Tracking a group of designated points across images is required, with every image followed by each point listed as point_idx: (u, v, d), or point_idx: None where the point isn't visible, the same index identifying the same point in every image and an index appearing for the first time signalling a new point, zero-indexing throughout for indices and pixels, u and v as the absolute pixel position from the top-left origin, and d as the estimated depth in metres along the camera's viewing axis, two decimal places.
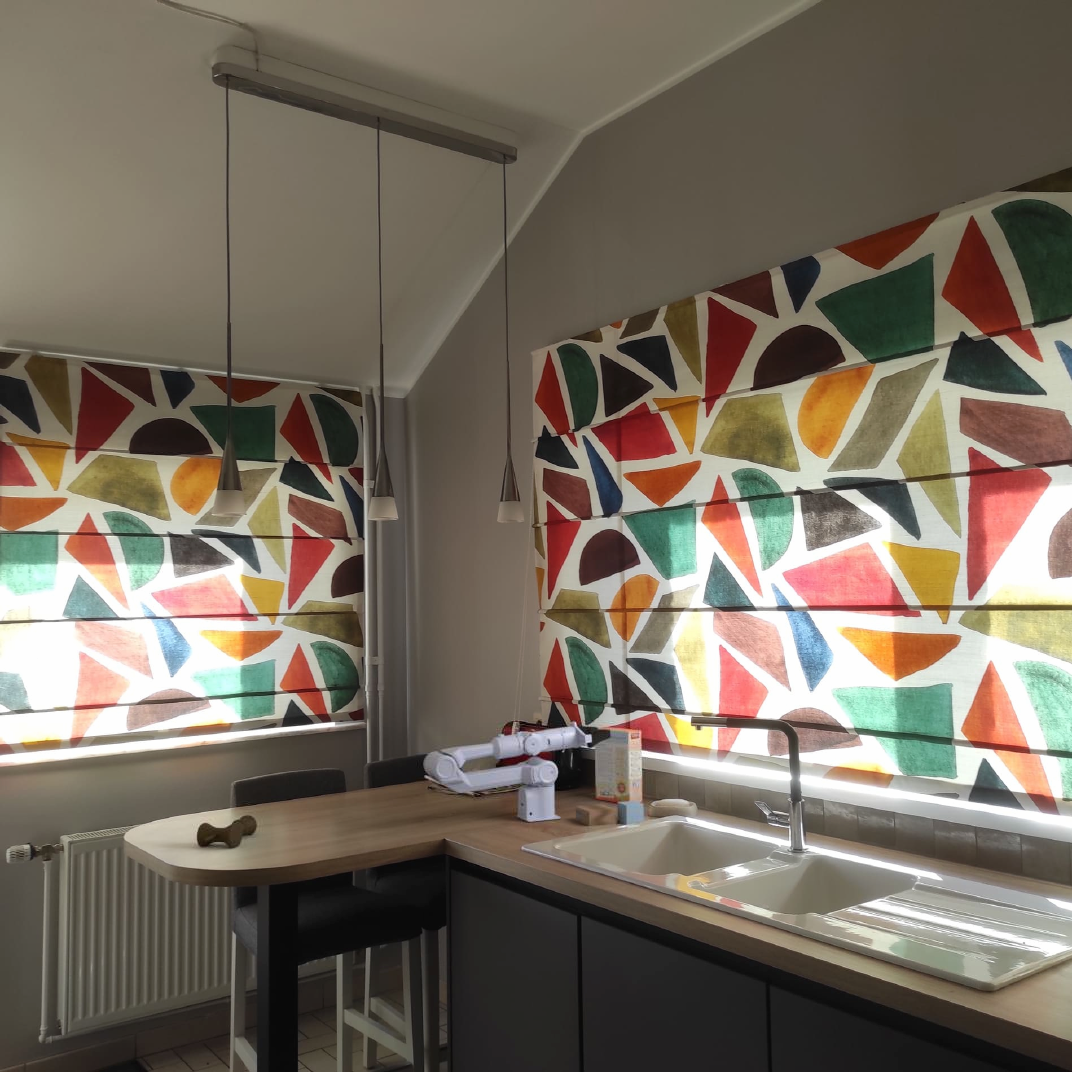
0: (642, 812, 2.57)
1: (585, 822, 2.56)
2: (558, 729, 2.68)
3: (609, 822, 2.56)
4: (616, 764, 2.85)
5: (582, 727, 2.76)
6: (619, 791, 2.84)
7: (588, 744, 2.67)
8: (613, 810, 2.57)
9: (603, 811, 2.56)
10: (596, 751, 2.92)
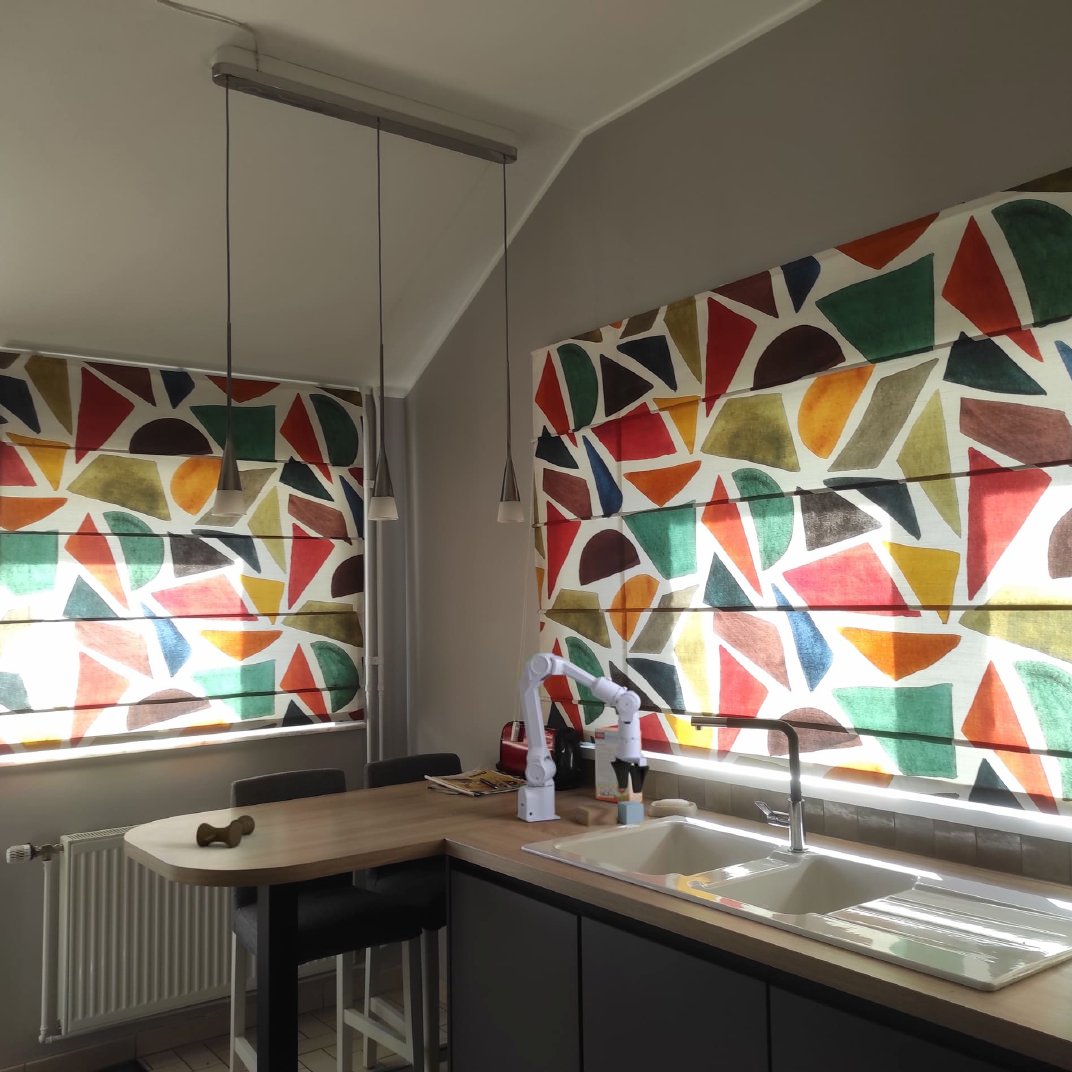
0: (642, 812, 2.57)
1: (585, 822, 2.56)
2: (638, 737, 2.59)
3: (609, 822, 2.56)
4: None
5: (628, 770, 2.64)
6: (619, 791, 2.84)
7: (631, 765, 2.55)
8: (613, 810, 2.57)
9: (602, 811, 2.56)
10: (596, 751, 2.92)
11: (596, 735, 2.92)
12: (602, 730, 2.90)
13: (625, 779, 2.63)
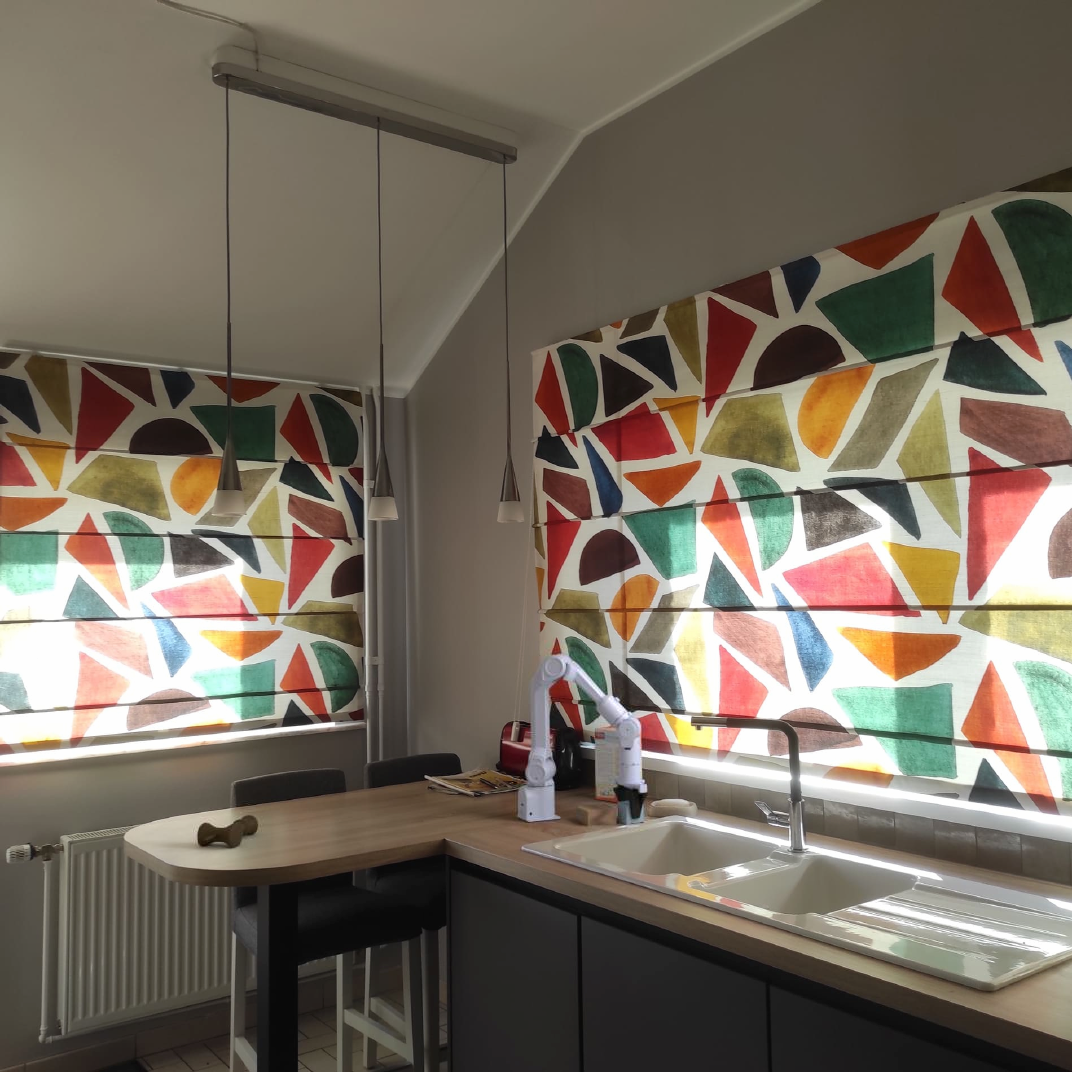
0: (642, 812, 2.57)
1: (584, 822, 2.56)
2: (639, 763, 2.58)
3: (608, 822, 2.56)
4: (615, 764, 2.85)
5: None
6: None
7: (630, 791, 2.55)
8: (612, 810, 2.57)
9: (602, 811, 2.56)
10: (596, 751, 2.92)
11: (596, 735, 2.92)
12: (602, 730, 2.90)
13: None
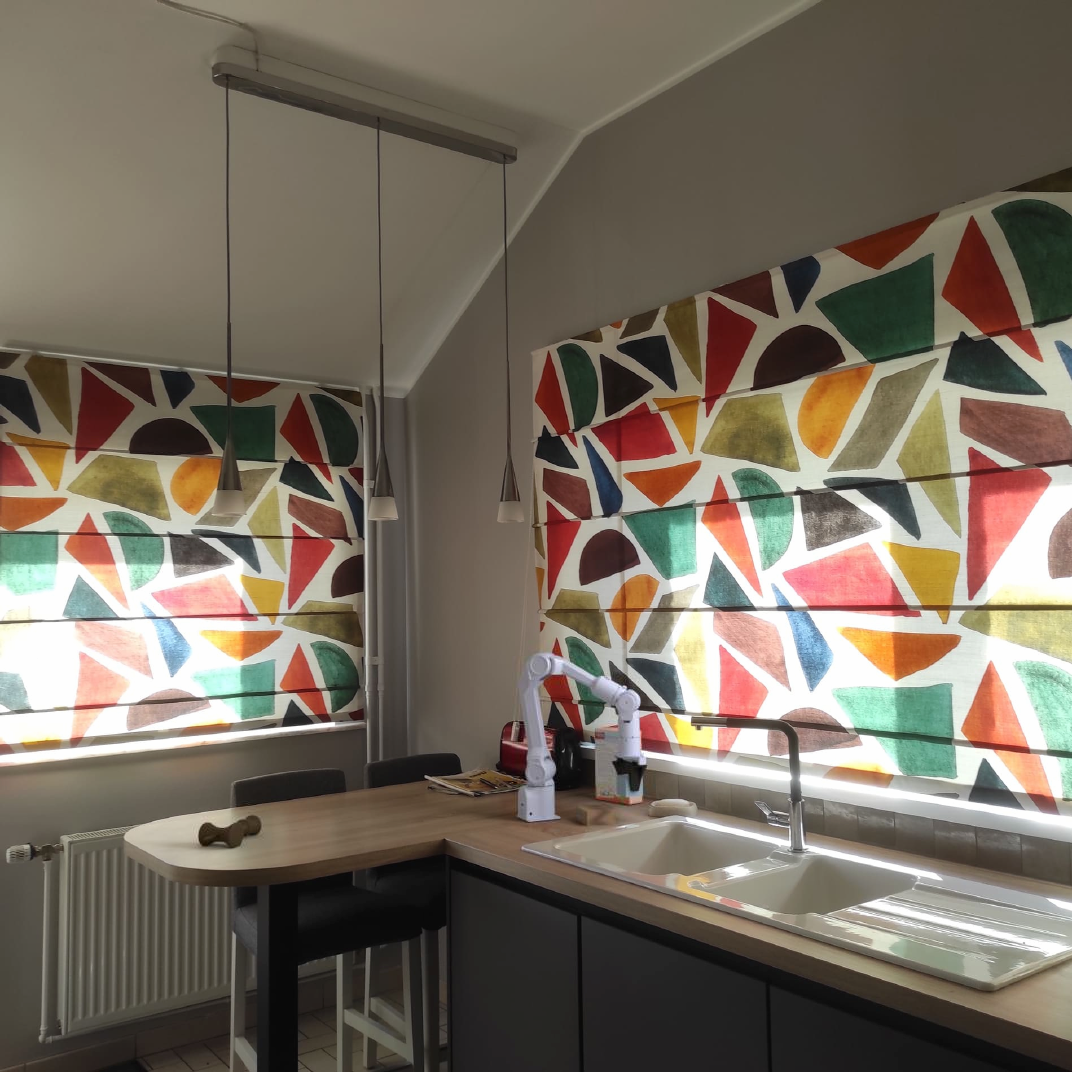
0: (641, 784, 2.58)
1: (584, 822, 2.56)
2: (638, 736, 2.59)
3: (608, 822, 2.56)
4: None
5: None
6: None
7: (629, 764, 2.56)
8: (612, 810, 2.56)
9: (602, 811, 2.56)
10: (596, 751, 2.92)
11: (596, 735, 2.92)
12: (602, 730, 2.90)
13: None
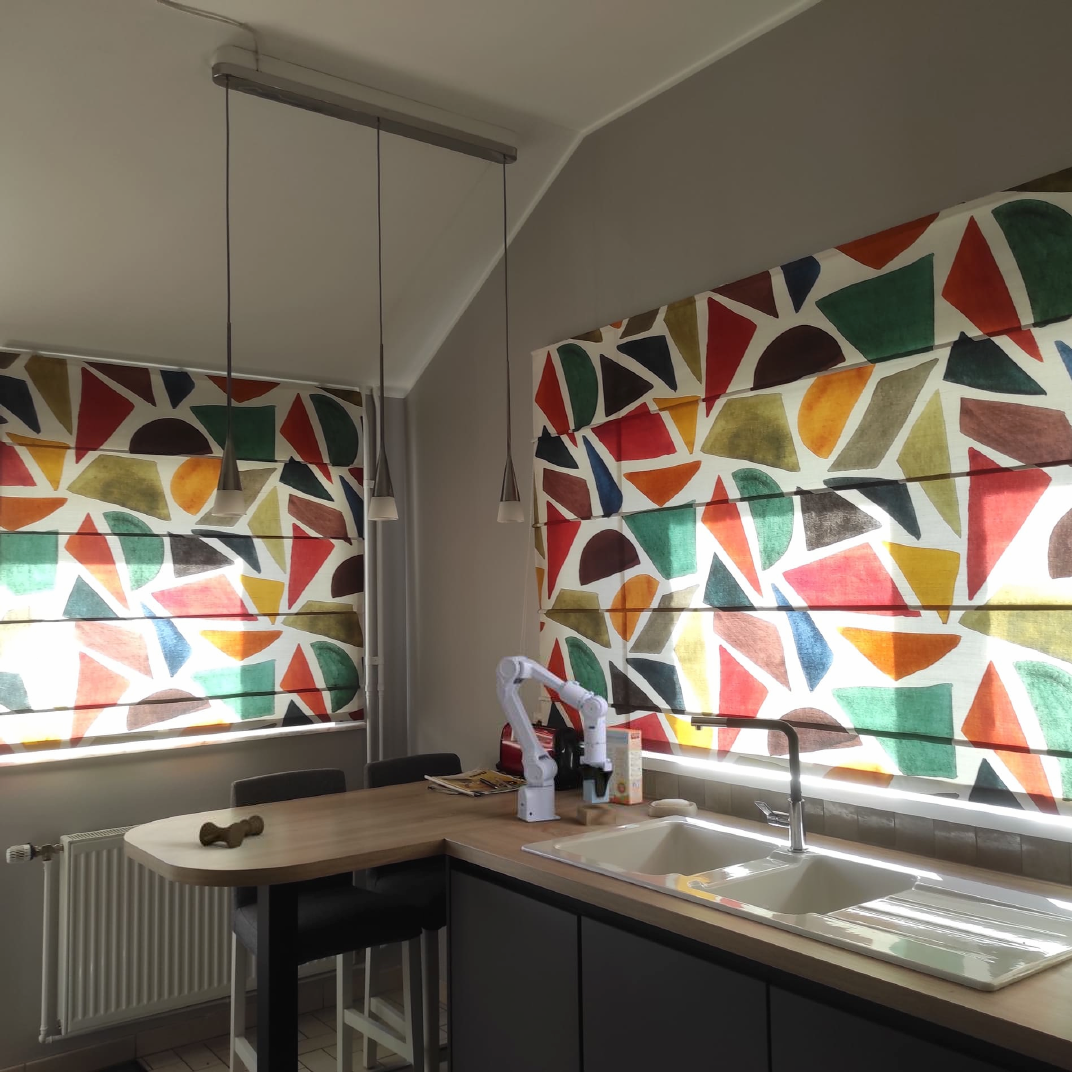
0: (607, 790, 2.58)
1: (584, 822, 2.56)
2: (603, 742, 2.59)
3: (608, 822, 2.56)
4: (616, 764, 2.85)
5: None
6: (619, 791, 2.84)
7: (595, 770, 2.56)
8: (612, 810, 2.56)
9: (601, 811, 2.56)
10: None
11: None
12: None
13: None
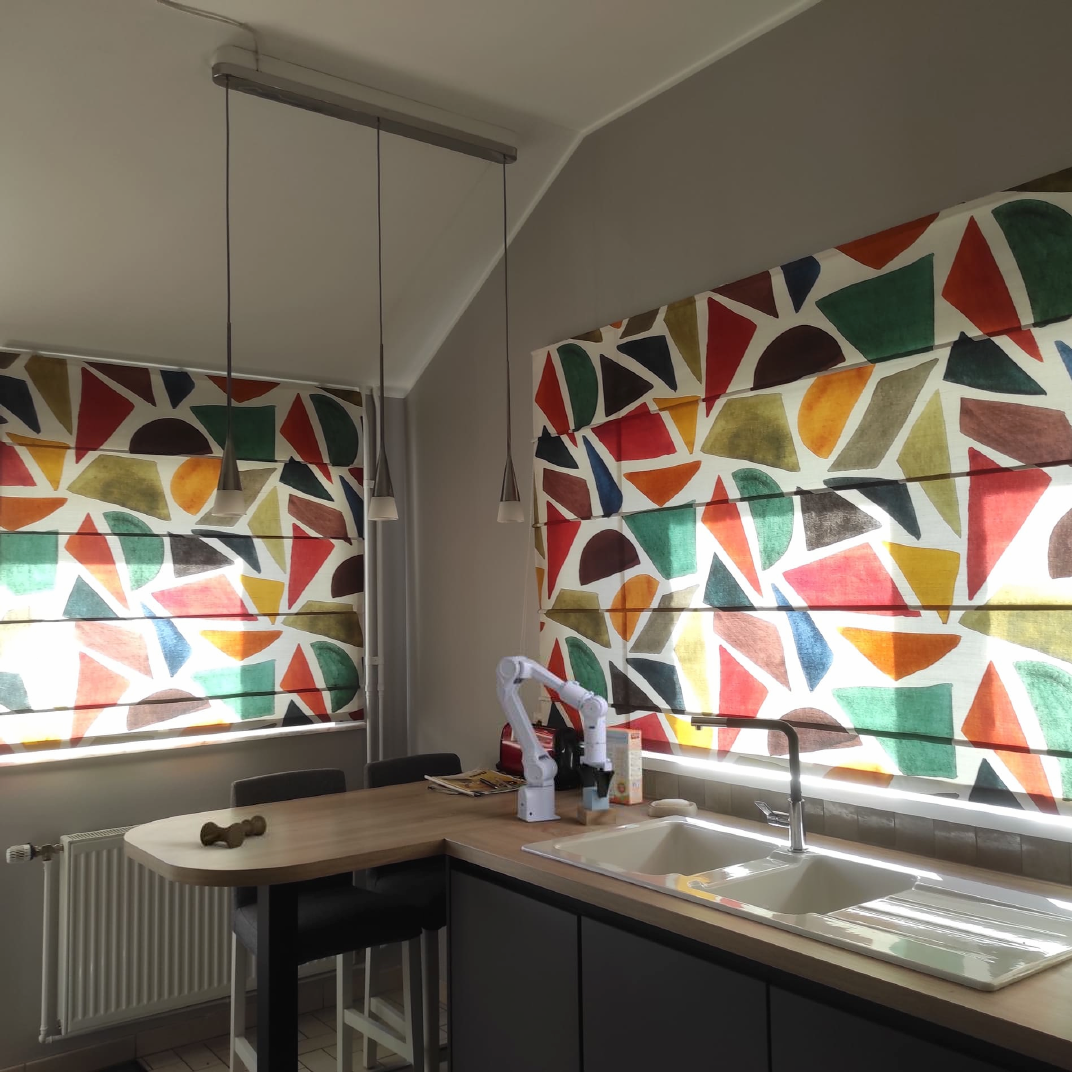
0: (607, 797, 2.58)
1: (583, 822, 2.56)
2: (603, 742, 2.59)
3: (608, 823, 2.56)
4: (616, 764, 2.85)
5: None
6: (619, 791, 2.84)
7: (596, 770, 2.55)
8: (612, 811, 2.56)
9: (601, 811, 2.56)
10: None
11: None
12: None
13: (591, 784, 2.63)
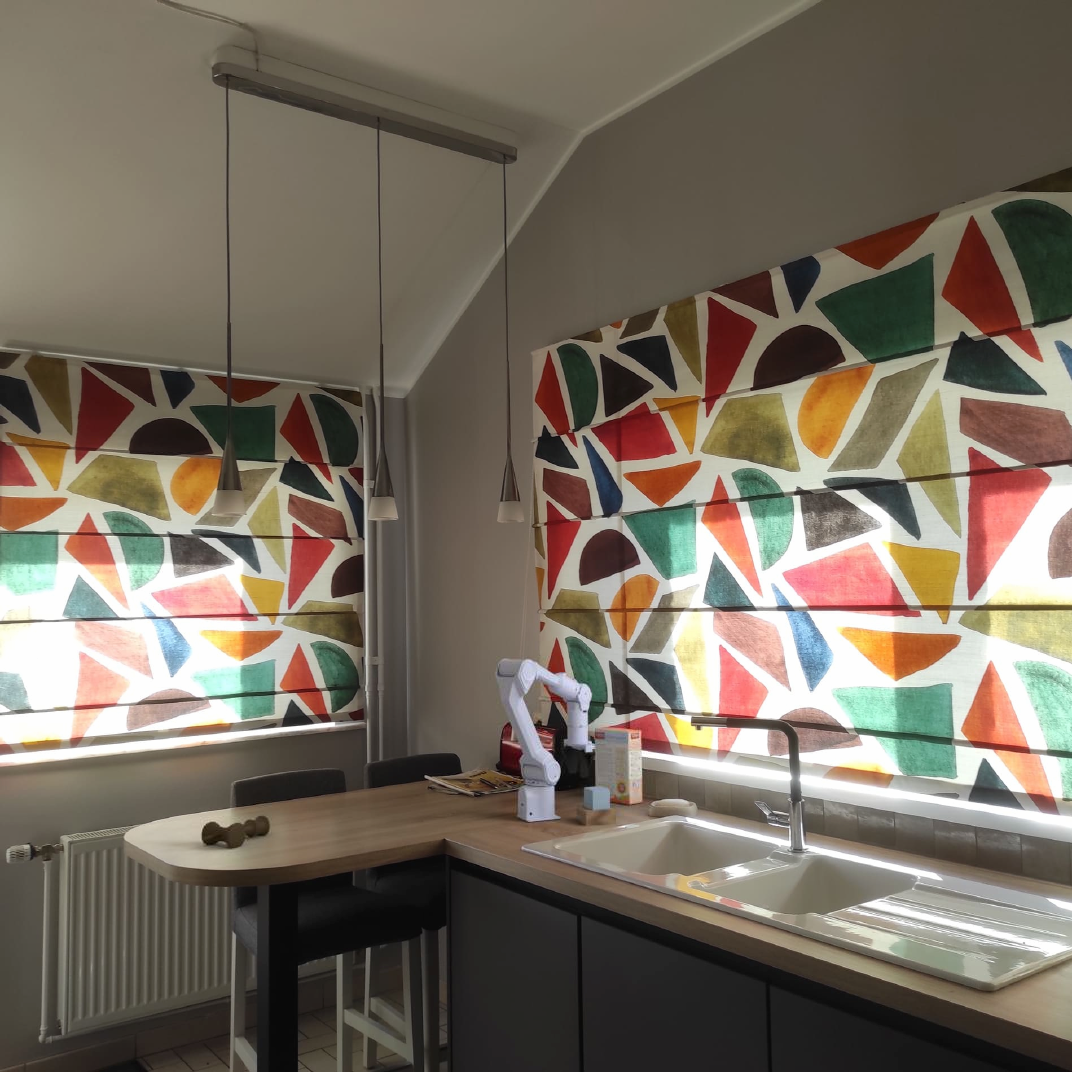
0: (608, 797, 2.58)
1: (583, 822, 2.56)
2: None
3: (607, 822, 2.56)
4: (615, 764, 2.85)
5: None
6: (619, 791, 2.84)
7: (578, 752, 2.72)
8: (611, 810, 2.56)
9: (601, 811, 2.56)
10: (596, 751, 2.92)
11: (596, 735, 2.92)
12: (602, 730, 2.90)
13: (574, 765, 2.80)
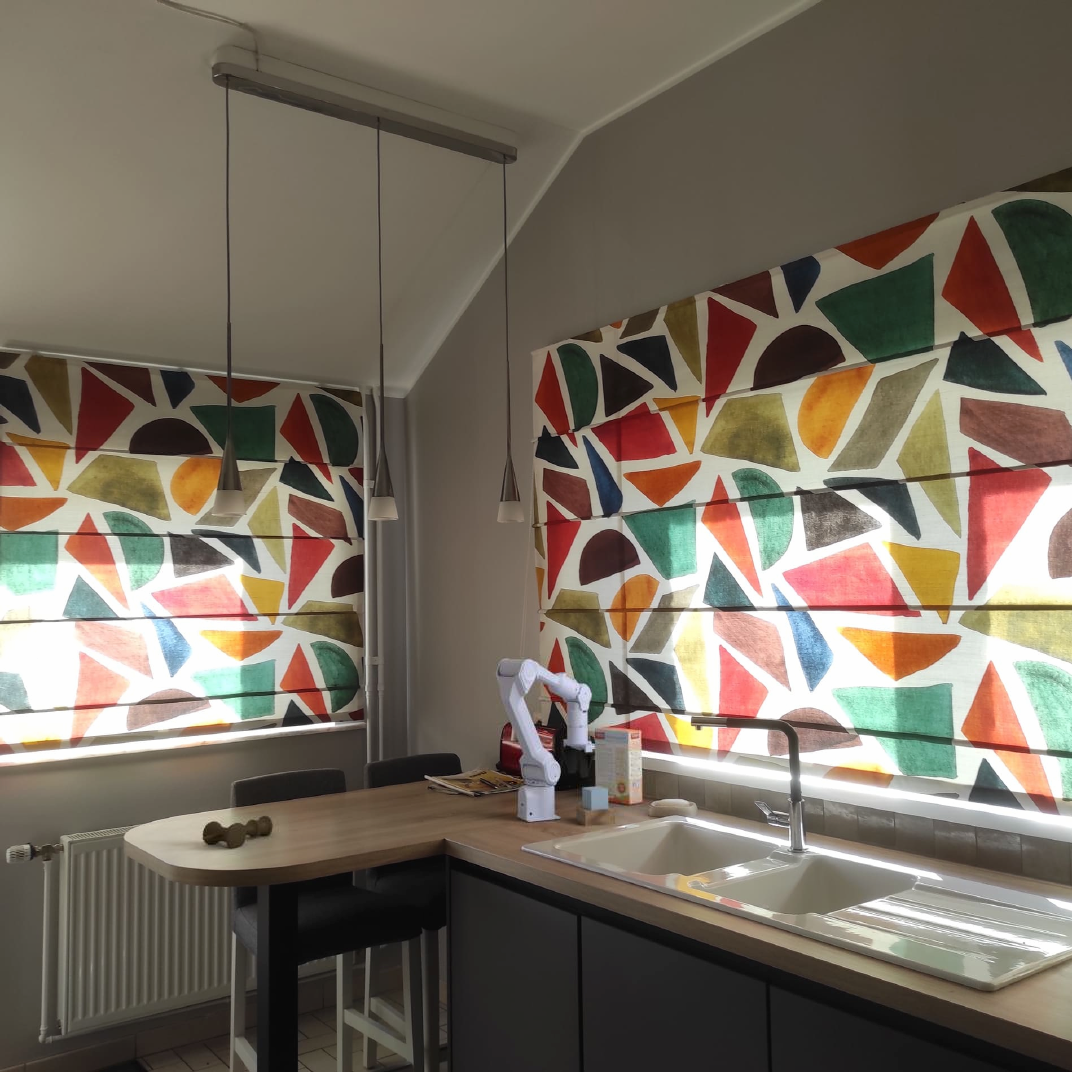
0: (607, 797, 2.58)
1: (582, 822, 2.57)
2: None
3: (606, 822, 2.56)
4: (615, 764, 2.85)
5: None
6: (619, 791, 2.84)
7: (578, 752, 2.72)
8: (611, 811, 2.56)
9: (600, 811, 2.56)
10: (596, 751, 2.92)
11: (596, 735, 2.92)
12: (602, 730, 2.90)
13: (574, 765, 2.80)
